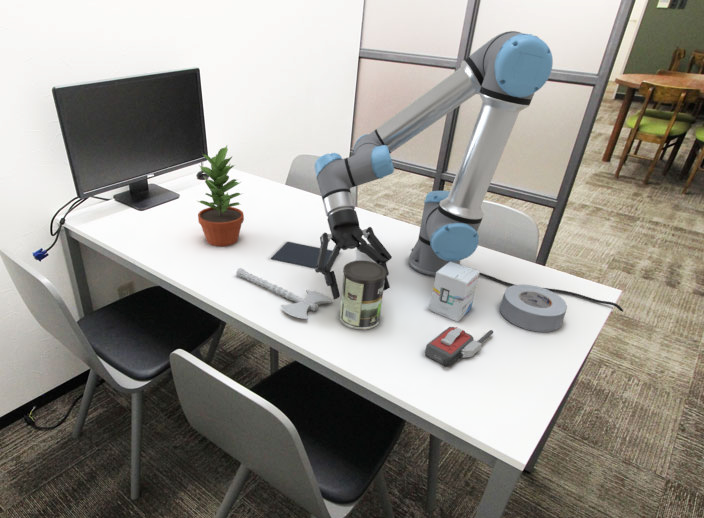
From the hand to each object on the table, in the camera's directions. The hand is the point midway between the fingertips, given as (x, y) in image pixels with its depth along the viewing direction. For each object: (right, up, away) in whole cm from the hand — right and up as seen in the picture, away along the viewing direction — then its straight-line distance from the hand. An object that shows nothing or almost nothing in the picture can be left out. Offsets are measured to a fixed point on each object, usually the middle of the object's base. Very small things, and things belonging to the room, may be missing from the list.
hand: (362, 293), depth 122 cm
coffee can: (0, -6, +5) cm, 8 cm away
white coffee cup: (+3, +4, +22) cm, 22 cm away
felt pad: (-14, +12, +33) cm, 38 cm away
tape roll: (+45, -6, +9) cm, 46 cm away
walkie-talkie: (+22, -13, -4) cm, 26 cm away
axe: (-22, 0, +13) cm, 25 cm away
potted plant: (-41, +18, +41) cm, 61 cm away
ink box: (+24, -4, +10) cm, 27 cm away
